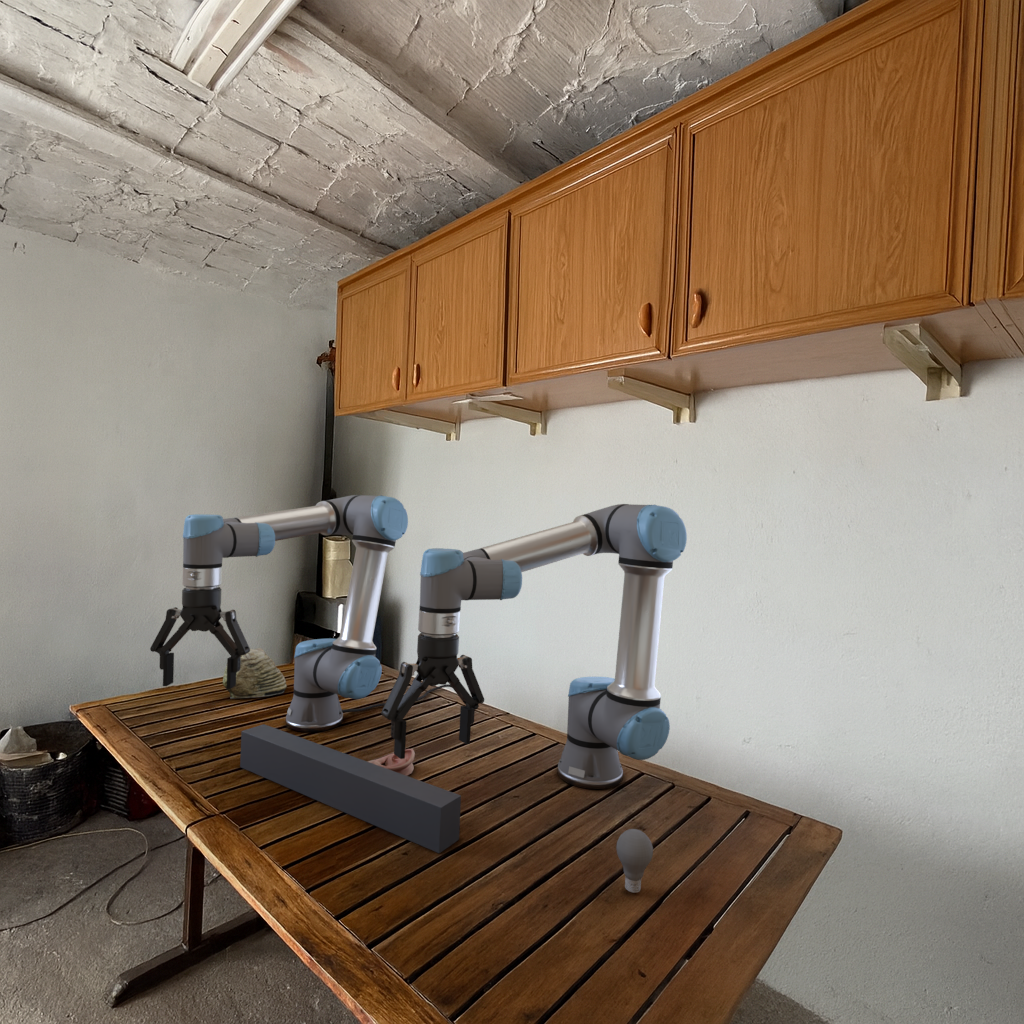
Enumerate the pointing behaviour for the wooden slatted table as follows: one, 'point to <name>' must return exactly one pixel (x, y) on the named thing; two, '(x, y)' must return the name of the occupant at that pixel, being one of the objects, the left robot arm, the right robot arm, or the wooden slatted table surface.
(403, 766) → the anatomical model
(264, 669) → the fossil
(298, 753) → the bar
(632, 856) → the light bulb
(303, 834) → the wooden slatted table surface
